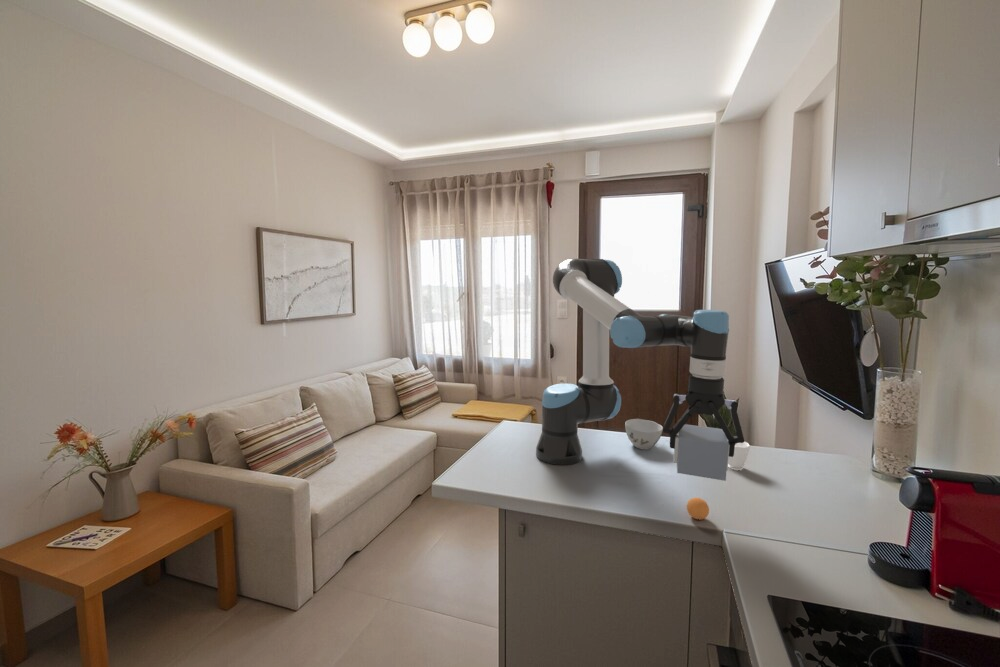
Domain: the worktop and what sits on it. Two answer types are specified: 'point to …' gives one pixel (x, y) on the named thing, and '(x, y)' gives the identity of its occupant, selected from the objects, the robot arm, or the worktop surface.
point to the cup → (739, 456)
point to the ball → (697, 508)
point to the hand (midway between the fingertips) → (699, 464)
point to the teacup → (643, 432)
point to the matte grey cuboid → (702, 452)
